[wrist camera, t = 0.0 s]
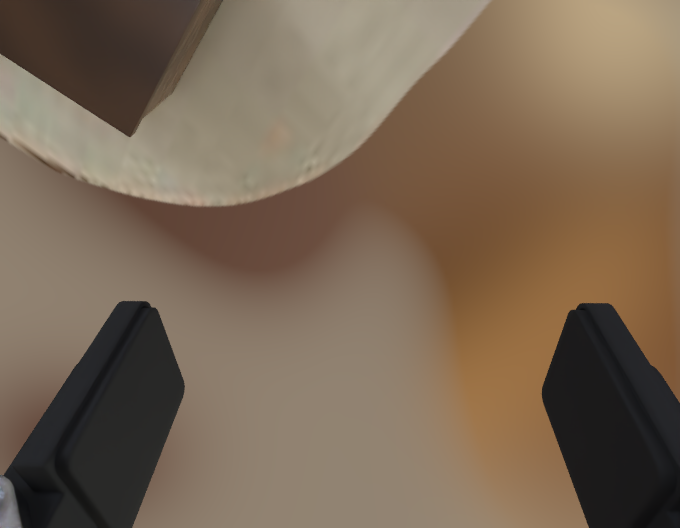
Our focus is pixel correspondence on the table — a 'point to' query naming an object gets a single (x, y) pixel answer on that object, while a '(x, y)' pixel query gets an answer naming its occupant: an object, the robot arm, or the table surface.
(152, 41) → the brown block with crank
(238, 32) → the table surface
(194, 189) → the table surface
